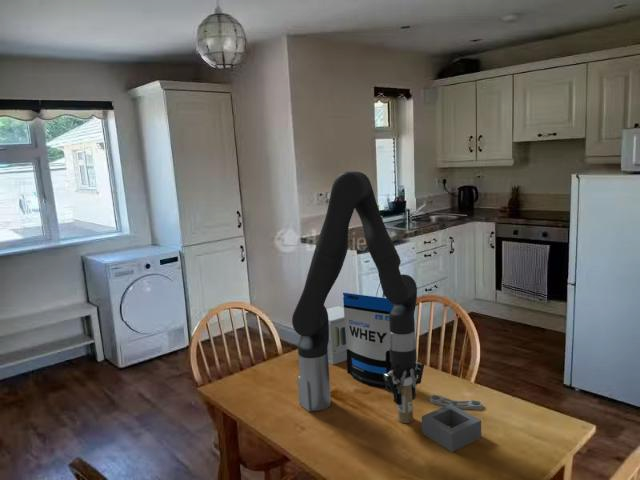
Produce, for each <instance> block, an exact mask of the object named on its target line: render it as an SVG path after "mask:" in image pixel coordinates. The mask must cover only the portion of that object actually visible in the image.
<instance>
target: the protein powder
mask: <svg viewBox="0 0 640 480" xmlns="http://www.w3.org/2000/svg"><path fill="white" fill-rule="evenodd" d="M342 296H343V297H342V298H343V300H342V301H343V302H342V303H343V308H344V319H345V334H346V347H347V360H346V363H347V364H346V367H347V374H349V375H350V376H351V378H352V379H354V380H355V381H357V382H358V383H361V384H363V385H365V386H369V387H373V388H379V389H387V387H386V384H385V381H384V378H383V373H386V374H387V373H388V372H389V371H390V369H391V366H392V364H391V361H390V346H389V334H390V325H389V315H390V312H391V311H392V309H393V306H394V304H392V303H391V302H390V301H388V299H387V298H386V297H380V296H379V297H378V296H372V295H371V296H370V295H365V294H364V295H363V294H357V293H348V292H342Z"/></svg>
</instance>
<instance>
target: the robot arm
mask: <svg viewBox="0 0 640 480" xmlns="http://www.w3.org/2000/svg"><path fill="white" fill-rule="evenodd" d="M329 195H330V196H329V200H328V201H329V202H328V205H327V212H326V215H325V218H324V220H323V224H322V227H321V230H320V233H319V237H318V238H317V242H316V245H315V248H314V252H313V255H312V258H311V262H310V265H309V269H308V272H307V275H306V280H305V283H304V287H303V290H302V293H301V295H300V298H299V300H298V302H297V304H296V306H295V309H294V311H293V314H292V317H291V322H292V323H291V324H292V327H293V330H294V331H295V332H296V334H298V335H299V336H300V338H299V341H298V344H297V355H298V356H297V357H298V367H299V368H298V369H299V371H298V372H299V375H298V376H297V390H298V391H297V392H298V401H299V403H298V404H299V405H300V406H301V407H302V408H303V409H305V410H306V411H307V412H308V413H309V412H318V411H323V410H326V409H328V408H329V407H330V406H331V404H332V401H331V400H332V398H331V397H332V396H331V383H330V366H329V364H330V363H328V342H329V320H328V313H327V310H326V309H327V308H326V305H325V302H326V300H327V297H328V295H329V293H330V291H331V290H332V288H333V287H334V284H335V283H336V281H337V280H338V277H339V275H340V273H341V271H342V268H343V266H344V263H345V260H346V257H347V253H348V249H349V227H350V222H351V218H352V217H353V214H354V211H356V213H357V214H358V217H359V220H360V222H361V226H362V229H363V235H364V239H365V240H364V241H365V244H366V247H367V250H368V251H369V254H370V256H371V259H372V261H373V263H374V265H375V267H376V269H377V273H378V279H379V283H380V286H381V291H382V293H383V295H384V296H385V297H384V298H387V299H388V301H390V302H391V303H392V304H394V306H393V309H392V311H391V312H390V315H389V325H390V334H389V346H390V361H391V364H392V366H391V369H390V371H389V372H388V373H387V374H386V373H383V378H384V381H385V384H386V387H387V388H386V390H387V392H390V393H391V394H393V402H394V403H395V404H396V405H397V406H398V405H401V404H402V398H401V388H402V386H403V384H404V379H405V378H408V377H411V378H412V401H414V400H415V399H416V394H417V393H416V388H417V385H419V384H421V383H422V378H423V373H424V368H425V364H424V363H422V362H420V361H417V358H418V357H417V353H418V352H417V336H416V335H417V334H416V329H415V328H416V324H415V323H416V322H415V320H416V319H415V311H416V306H417V305H416V304H417V300H418V287H417V283H416V281H415V279H414V278H413V277H412V276H410V275H409V274H401V270H400V266H401V261H402V260H401V258H400V256H399V254H398V252H397V249H396V246H395V245H394V243H393V240H392V238H391V236H390V233H389V232H388V230H387V228H386V225H385V222H384V220H383V217H382V215H381V212H380V209H379V206H378V203H377V199H376V197H375V196H376V195H375V192H374V188H373V186H372V183H371V180H370V179H369V177H368V176H367V174H365V173H363V172H361V171H343V172H341V173H340V174H338V176H336V178H335V179H334V181H333V183H332V186H331V190H330V194H329ZM396 379H398V380H399V381H400V382H398V381H397V380H396ZM397 385H398V386H397Z"/></svg>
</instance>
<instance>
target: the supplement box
mask: <svg viewBox="0 0 640 480" xmlns="http://www.w3.org/2000/svg"><path fill="white" fill-rule="evenodd" d="M326 310H327V313H328V320H329V342H328V364H331V365H332V366H334V365H337V364H339V363H342V362H345V361H346V362H347V347H346V334H345V319H344V307H342V306H339V305H337V306H334V307H330V308H326Z"/></svg>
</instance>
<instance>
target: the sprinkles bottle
mask: <svg viewBox="0 0 640 480" xmlns="http://www.w3.org/2000/svg"><path fill="white" fill-rule="evenodd" d="M396 380H397V381H398V382H400V381H399V380H398V379H396ZM397 386H398V385H397ZM401 398H402V404H401V405H397V415H398V416H397V420H398V422H400V423H403V424H409V423H412V422H413V421H414V410H413V409H414V405H413V402H414V401H413V400H412V378H411V377H408V378H405V379H404V384H403V386H402V388H401Z"/></svg>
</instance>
